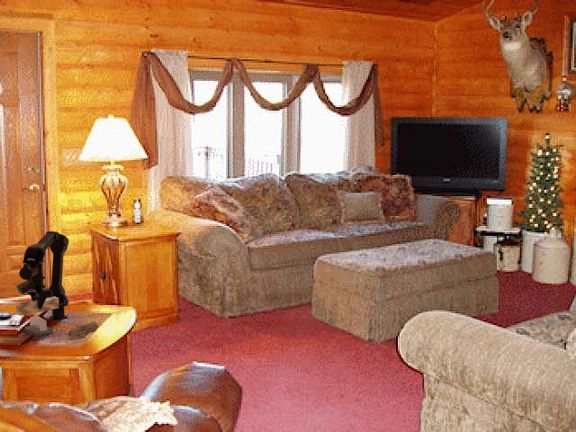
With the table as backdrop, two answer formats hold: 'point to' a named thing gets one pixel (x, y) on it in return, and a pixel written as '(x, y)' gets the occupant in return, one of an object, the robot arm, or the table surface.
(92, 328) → the wooden fragment
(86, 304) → the table surface
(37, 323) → the balance ridge
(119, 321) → the table surface
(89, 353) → the table surface
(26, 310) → the birch rod
